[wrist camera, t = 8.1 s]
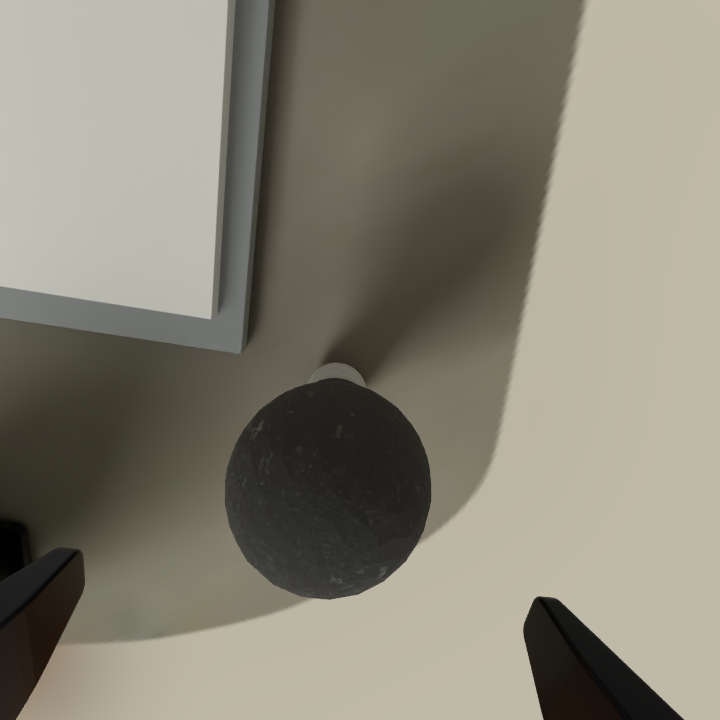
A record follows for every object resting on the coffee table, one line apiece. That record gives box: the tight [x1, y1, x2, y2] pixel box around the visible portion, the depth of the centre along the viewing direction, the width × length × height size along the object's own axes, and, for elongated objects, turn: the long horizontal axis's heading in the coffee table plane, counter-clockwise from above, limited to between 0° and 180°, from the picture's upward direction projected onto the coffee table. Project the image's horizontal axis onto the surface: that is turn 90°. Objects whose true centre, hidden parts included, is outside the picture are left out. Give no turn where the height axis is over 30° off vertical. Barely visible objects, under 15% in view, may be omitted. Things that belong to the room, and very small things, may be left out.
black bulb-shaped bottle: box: [225, 363, 431, 600], centre depth 14 cm, size 6×6×10 cm
